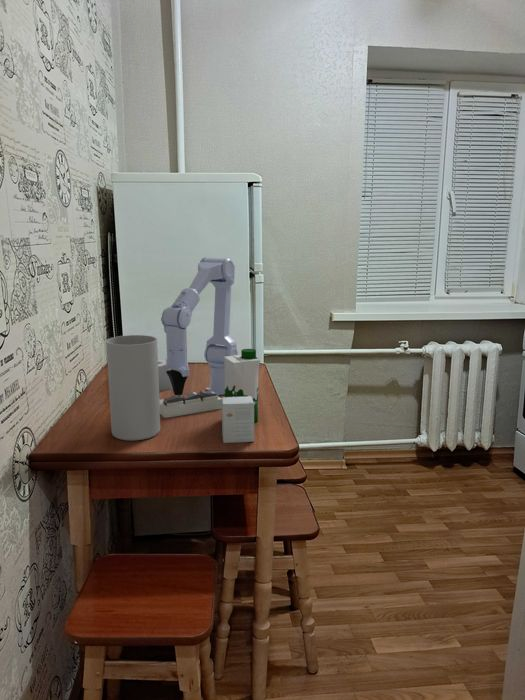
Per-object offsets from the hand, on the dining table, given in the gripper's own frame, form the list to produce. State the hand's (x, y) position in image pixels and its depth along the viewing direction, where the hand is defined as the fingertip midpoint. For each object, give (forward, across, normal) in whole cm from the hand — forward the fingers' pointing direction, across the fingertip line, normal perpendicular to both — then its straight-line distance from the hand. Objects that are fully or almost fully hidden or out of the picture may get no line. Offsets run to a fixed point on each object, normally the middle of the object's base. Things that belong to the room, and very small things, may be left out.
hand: (178, 394), depth 150 cm
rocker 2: (+1, 0, +4) cm, 4 cm away
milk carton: (+6, +13, +14) cm, 20 cm away
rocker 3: (+1, 0, +9) cm, 9 cm away
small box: (+6, +25, +7) cm, 27 cm away
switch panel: (+6, -2, +6) cm, 8 cm away
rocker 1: (+1, 0, -2) cm, 2 cm away
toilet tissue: (+6, -27, +4) cm, 28 cm away
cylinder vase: (+6, +9, -15) cm, 19 cm away
